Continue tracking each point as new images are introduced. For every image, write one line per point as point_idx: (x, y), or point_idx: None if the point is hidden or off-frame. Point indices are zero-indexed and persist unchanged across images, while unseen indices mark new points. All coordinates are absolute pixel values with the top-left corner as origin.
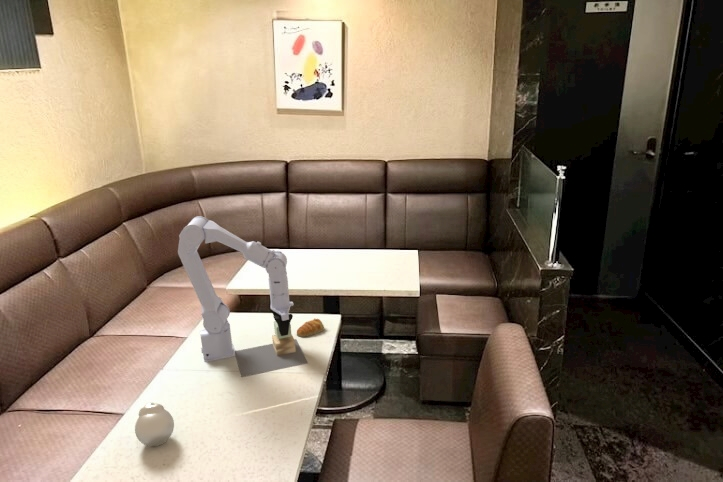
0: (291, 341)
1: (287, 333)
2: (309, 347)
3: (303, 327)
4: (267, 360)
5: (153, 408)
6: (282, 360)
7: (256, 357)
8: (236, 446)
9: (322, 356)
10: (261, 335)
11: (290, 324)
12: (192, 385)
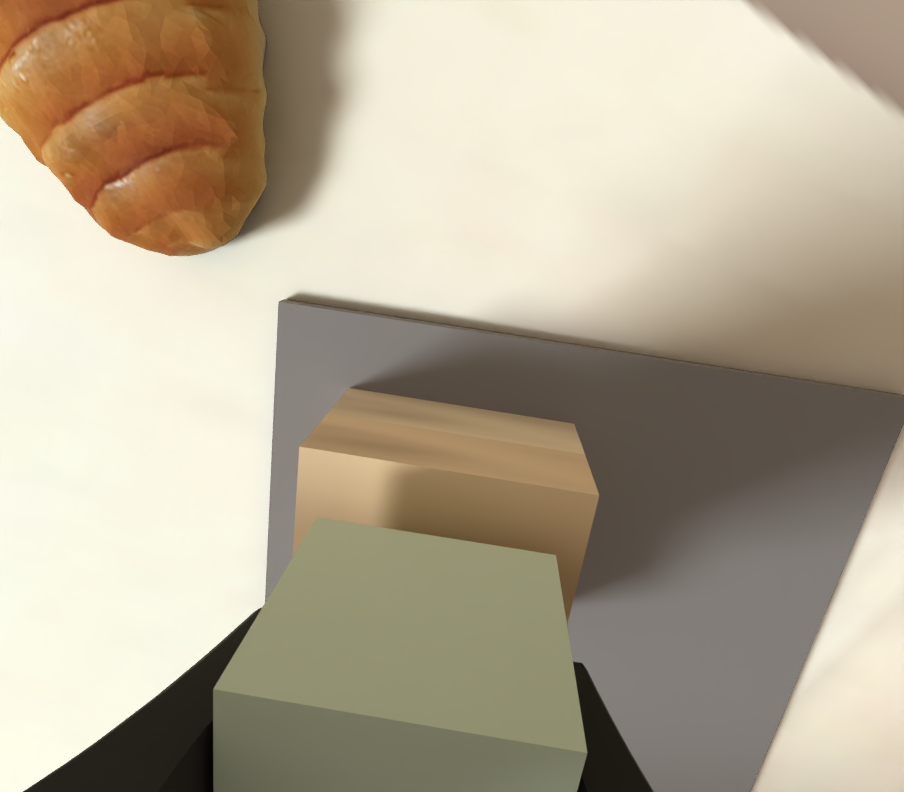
0: (587, 539)
1: (591, 689)
2: (543, 221)
3: (105, 133)
4: None
5: None
6: (661, 602)
7: None
8: None
9: (868, 159)
10: (31, 575)
11: (566, 748)
12: None
